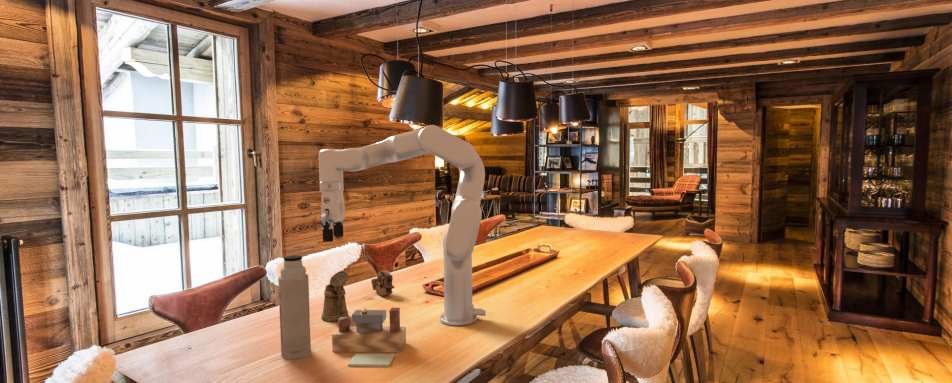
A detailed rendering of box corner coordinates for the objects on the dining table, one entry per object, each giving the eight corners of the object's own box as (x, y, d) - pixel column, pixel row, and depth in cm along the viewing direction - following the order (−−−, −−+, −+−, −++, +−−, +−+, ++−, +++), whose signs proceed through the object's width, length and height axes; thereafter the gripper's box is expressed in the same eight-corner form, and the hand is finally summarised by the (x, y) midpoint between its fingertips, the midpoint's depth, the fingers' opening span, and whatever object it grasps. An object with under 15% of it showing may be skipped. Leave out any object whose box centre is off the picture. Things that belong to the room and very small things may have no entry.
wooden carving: (367, 292, 209) (366, 268, 208) (377, 290, 212) (376, 266, 211) (388, 300, 196) (387, 275, 195) (398, 298, 199) (397, 273, 198)
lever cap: (386, 318, 150) (386, 307, 150) (382, 323, 146) (382, 312, 145) (356, 317, 151) (356, 307, 150) (351, 323, 146) (351, 312, 146)
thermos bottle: (277, 359, 140) (273, 259, 138) (285, 348, 148) (282, 253, 146) (307, 358, 141) (303, 258, 139) (313, 347, 149) (310, 253, 147)
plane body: (406, 343, 152) (405, 305, 151) (401, 352, 145) (400, 312, 144) (340, 342, 153) (339, 305, 152) (332, 351, 146) (331, 312, 145)
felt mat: (394, 356, 142) (394, 354, 142) (388, 366, 135) (388, 364, 135) (355, 355, 142) (355, 353, 142) (347, 366, 135) (347, 364, 135)
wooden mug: (328, 327, 166) (326, 273, 165) (318, 316, 178) (317, 265, 177) (355, 322, 171) (353, 269, 169) (344, 312, 182) (342, 262, 181)
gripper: (333, 188, 157) (335, 243, 158) (351, 185, 174) (352, 234, 175) (309, 189, 157) (312, 243, 158) (330, 185, 174) (331, 234, 176)
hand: (333, 239), depth 167 cm, fingers open, 9 cm apart
